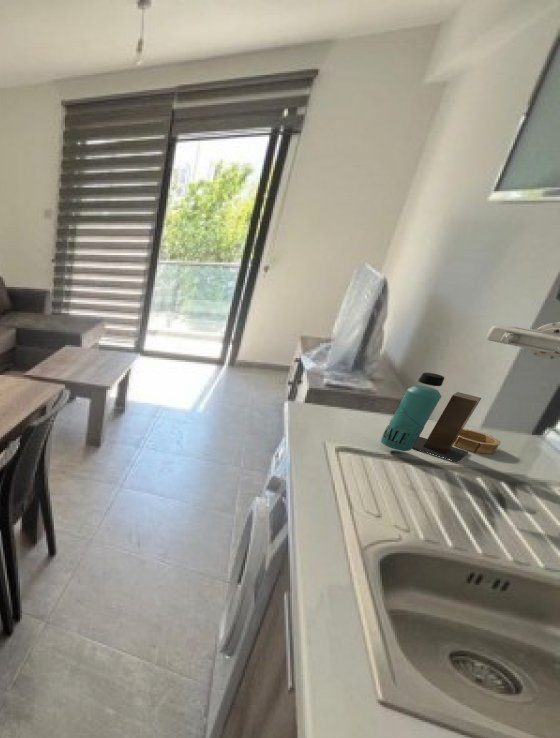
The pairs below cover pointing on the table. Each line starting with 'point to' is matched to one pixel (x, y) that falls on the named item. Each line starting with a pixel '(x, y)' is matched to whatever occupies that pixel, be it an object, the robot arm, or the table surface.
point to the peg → (451, 422)
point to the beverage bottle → (413, 413)
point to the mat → (452, 454)
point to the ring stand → (476, 442)
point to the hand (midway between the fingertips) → (532, 345)
